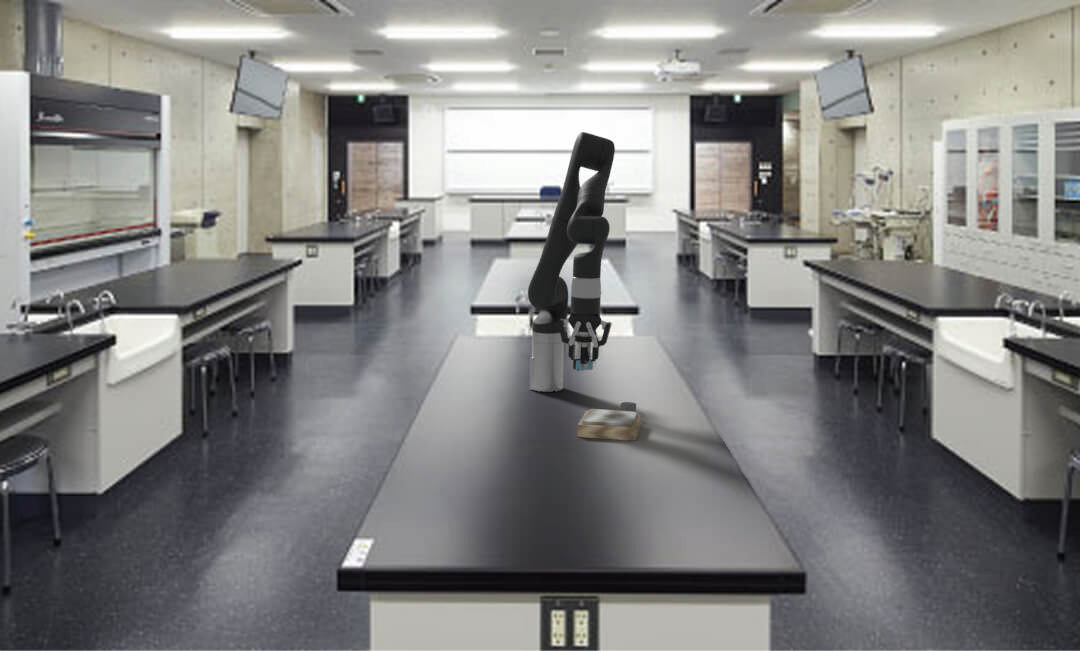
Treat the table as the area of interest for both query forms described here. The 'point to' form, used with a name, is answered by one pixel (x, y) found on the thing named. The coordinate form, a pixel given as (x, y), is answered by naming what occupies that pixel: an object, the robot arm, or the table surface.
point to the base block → (609, 424)
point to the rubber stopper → (628, 406)
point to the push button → (583, 352)
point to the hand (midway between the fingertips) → (583, 359)
